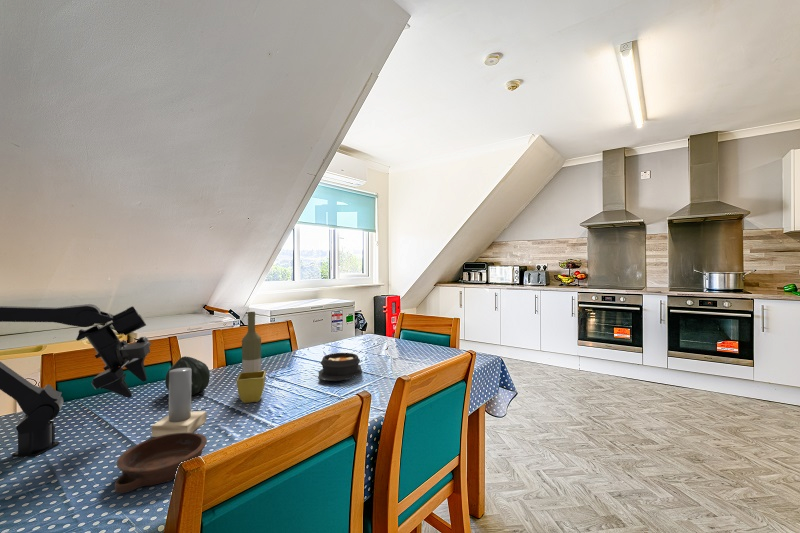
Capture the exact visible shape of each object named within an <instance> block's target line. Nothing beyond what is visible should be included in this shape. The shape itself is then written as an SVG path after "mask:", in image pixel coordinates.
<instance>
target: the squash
mask: <svg viewBox="0 0 800 533" xmlns="http://www.w3.org/2000/svg"><path fill="white" fill-rule="evenodd" d="M177 368H191V369H192V376H191V395H193V396H194V395H197V394H198V393H202V392H203V391H204V390H206V388H208V385H209V383H210V377H211V374H210V369H209V367H208V366H207V364H206V363H205V362H203V361H201V360H198V359H197V358H195V357H190V356H187V355H186V356H181V357H180V358H179V359H178V360H177V361H176V362H175V363H174V364H172V365H171V367H170V368H169V369H168V370H167V371H166V374H165V381H164V382H165V383H164V385H165V387H166V390H168V391H169V371H171V370H173V369H177Z"/></svg>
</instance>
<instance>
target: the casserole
mask: <svg viewBox="0 0 800 533" xmlns="http://www.w3.org/2000/svg"><path fill="white" fill-rule="evenodd" d="M360 362H361V359H360V358H359V356H358V354H356V353H351V352H334V353H329V354H326V355H324V356H323V357H322V360H321V361H320V365H321V367H322V369H320V370H319V371H318V377H317V379H318V380H320V381H325V382H326V381H327V382H341V381H344V380H347V379H350V378H353V377H356V376H359V375H361V374H362V373H363V370H362V366H361V365H360Z"/></svg>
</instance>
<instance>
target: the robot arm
mask: <svg viewBox="0 0 800 533" xmlns="http://www.w3.org/2000/svg"><path fill="white" fill-rule="evenodd" d="M7 322H8V323H11V322H12V323H55V324H62V325H66V326H73V327H79V328H80V329H78V334H77V336H76V338H75V339H76V341H80V340H84V339H85V338H86V340H88V342H89V343H90V345H91V346H92V348H94V351H95V352H96V354H94V357H95V359H101V361H102V362H103V363H104V364H105V365H104V366H103V367H102V369H104V370H103V371H102V372H99V373H98V374H97V375H96V376H95V377H94V378H93V379H92V380H91V383H90V384H91V385H92V387H93V388H94V389H95V390H98V389H100V390H102V389H104V390H107V391H110V392H112V393H114V394H117V395H120V396H122V397H123V398H126V399H129V398H132V397H133V394H132V392H131V389H130V388H129V387H128V386H129V385H128V384H127V382H126V376H127V373H125V372H124V368H126V370H128V371H129V372H131V374H133V376H135V377H136V378H137V379H139V381H142V383H145V382H147V380H148V378H147V372H146V369H145V364H144V362H145V359H146V357H147V356H148V354H150V353H151V348H150V346H152V343H151V342H150V340H149V339H148V338H147V337H146V336H139V338H137V339H136V341H134V342H132V343H128V342H127V341H126V340H125V339H123V340H120V338H119V337H118V336H117V334H118V335H124V336H128V335H130V334H132V333H134V332H136V331H138V330H141V329H143V328H144V327H146V326H147V324H146V322H145V320H144V318H143V317H142V315H141V314H139V312H138V311H137V309H136V308H135V306H133V305H132V306H129V307H127V308H126V309H125V310H122V311H120V312H118V313H116V314H111V313H108V312H105V311H102V310H101V309H100V308H99V307H98V306H97V305H95V304H90V303H89V304H77V305H68V306H60V307H54V306H53V307H49V306H18V305H17V306H12V305H5V306H4V305H0V323H7ZM93 325H94V326H93ZM99 325H101V326H99ZM111 326H112V327H113V328H114V330H115V331H114V330H113V328H112V327H111ZM89 327H90V328H89ZM82 328H87V329H82ZM116 333H117V334H116ZM0 391H1V392H3V393H4V394H6V395H7V396H9V397H10V398H12V399H13V400H15V401H16V403H17V404H18V406H19V407H20V410H21V411H22V412H23V413H24V414H25V415H24V417H22V418H21V420H20V421H19V423H18V424H17V425H16V427H15V429H16V431H17V450H16V451H14V452H13V453H11V456H12V457H36V456H39V455H41V454H43V453H45V452H46V451H48V450H50V449H52V448H54V447H56V446H58V445H60V443H61V442H60V441H56V430H55V429H56V426H55V423H54V419H56V417H57V416H58V415H59V413H60V411H61V409H62V407H63V405H64V397H63V396H62V393H63V392H62V391H58V390H56V389H54V387H53V386H52V385H51V384H49V383H48V384H46V385H45V387H41V386H37V385H35V384H33V383H32V382H30V381H29V380H27V379H26V378H24V377H23V376H22V375H20V374H19V373H17V372H16V371H14V370H13V369H12V368H10V367H8V366H7V365H6V364H5V363H3V362H2V361H0Z"/></svg>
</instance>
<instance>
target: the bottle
mask: <svg viewBox="0 0 800 533" xmlns="http://www.w3.org/2000/svg"><path fill="white" fill-rule="evenodd" d="M241 357H242V358H241V360H242V362H241V364H242V366H241V367H242V368H241V369H242V373H246V372H258V371H262V338H261V336H260V335H259V334H258V333H257V332H256V312H255V311H248V312H247V332H246V334H245V335H244V336H243V337H242V340H241Z"/></svg>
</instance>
